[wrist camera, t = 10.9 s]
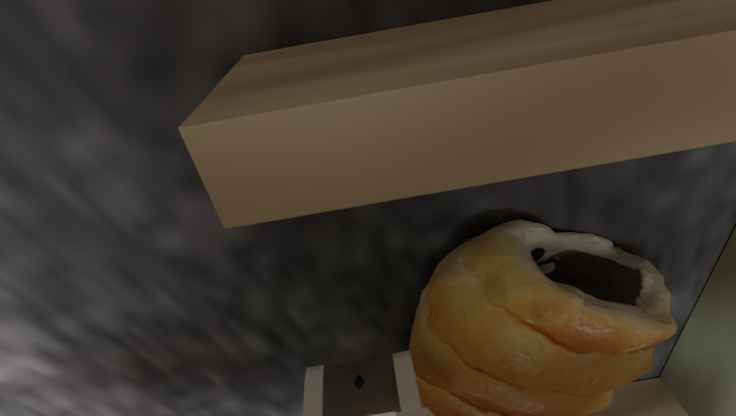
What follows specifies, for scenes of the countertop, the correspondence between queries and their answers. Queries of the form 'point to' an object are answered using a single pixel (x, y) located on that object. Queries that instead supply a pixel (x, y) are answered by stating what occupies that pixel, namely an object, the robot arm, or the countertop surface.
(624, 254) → the pastry
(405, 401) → the robot arm
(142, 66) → the countertop surface
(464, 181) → the wooden wall rack
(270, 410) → the countertop surface
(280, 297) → the countertop surface
